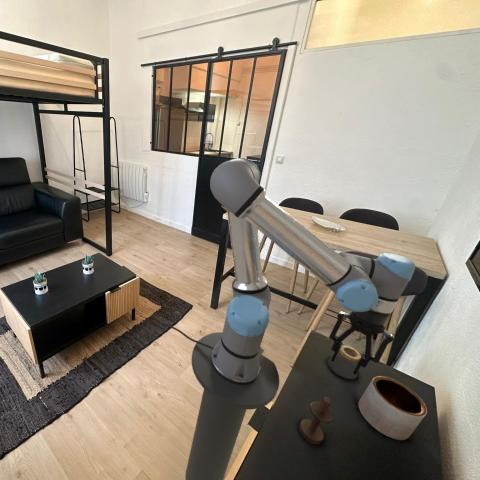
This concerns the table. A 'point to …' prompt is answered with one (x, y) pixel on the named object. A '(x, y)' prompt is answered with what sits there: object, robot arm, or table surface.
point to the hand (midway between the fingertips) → (344, 364)
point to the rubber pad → (342, 368)
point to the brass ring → (355, 359)
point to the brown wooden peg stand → (316, 421)
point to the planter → (392, 407)
